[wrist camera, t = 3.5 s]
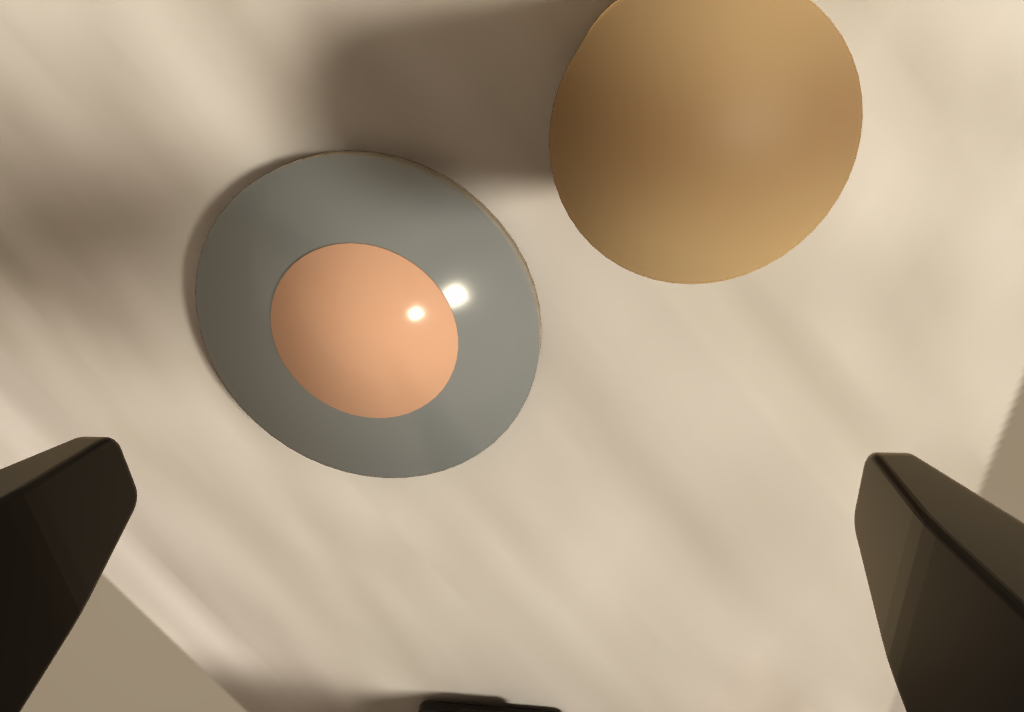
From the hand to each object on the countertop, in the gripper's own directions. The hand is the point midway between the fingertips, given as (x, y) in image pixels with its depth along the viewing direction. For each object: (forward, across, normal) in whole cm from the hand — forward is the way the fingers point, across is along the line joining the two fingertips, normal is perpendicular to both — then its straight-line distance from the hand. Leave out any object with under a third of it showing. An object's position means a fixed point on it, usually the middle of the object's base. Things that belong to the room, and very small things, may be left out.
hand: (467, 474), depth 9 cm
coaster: (+13, +6, +4) cm, 15 cm away
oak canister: (+14, -3, -2) cm, 14 cm away
